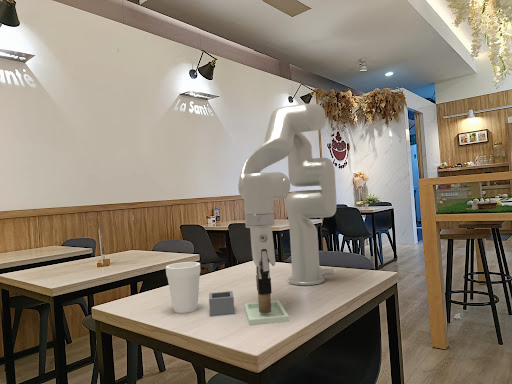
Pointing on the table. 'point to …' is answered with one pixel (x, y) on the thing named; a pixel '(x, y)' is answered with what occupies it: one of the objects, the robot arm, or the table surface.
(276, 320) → the tray
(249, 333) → the table surface
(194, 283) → the foam cup
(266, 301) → the dowel
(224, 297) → the pen cup
